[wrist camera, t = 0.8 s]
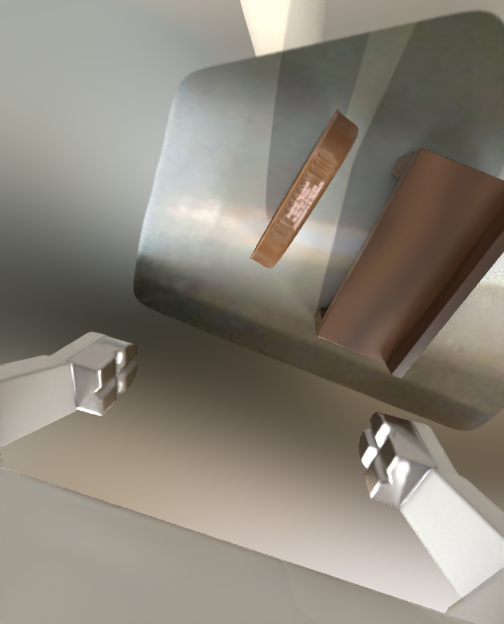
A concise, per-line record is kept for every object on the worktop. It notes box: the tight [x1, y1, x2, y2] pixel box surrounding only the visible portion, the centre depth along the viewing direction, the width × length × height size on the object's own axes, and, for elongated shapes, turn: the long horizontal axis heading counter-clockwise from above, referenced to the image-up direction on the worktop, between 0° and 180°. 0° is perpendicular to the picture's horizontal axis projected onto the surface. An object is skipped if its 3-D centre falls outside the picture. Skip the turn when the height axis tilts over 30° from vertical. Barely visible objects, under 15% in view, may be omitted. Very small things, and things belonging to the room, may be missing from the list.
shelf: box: [315, 148, 504, 378], centre depth 27 cm, size 10×20×7 cm, turn 160°
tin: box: [250, 110, 358, 268], centre depth 25 cm, size 15×3×8 cm, turn 149°
